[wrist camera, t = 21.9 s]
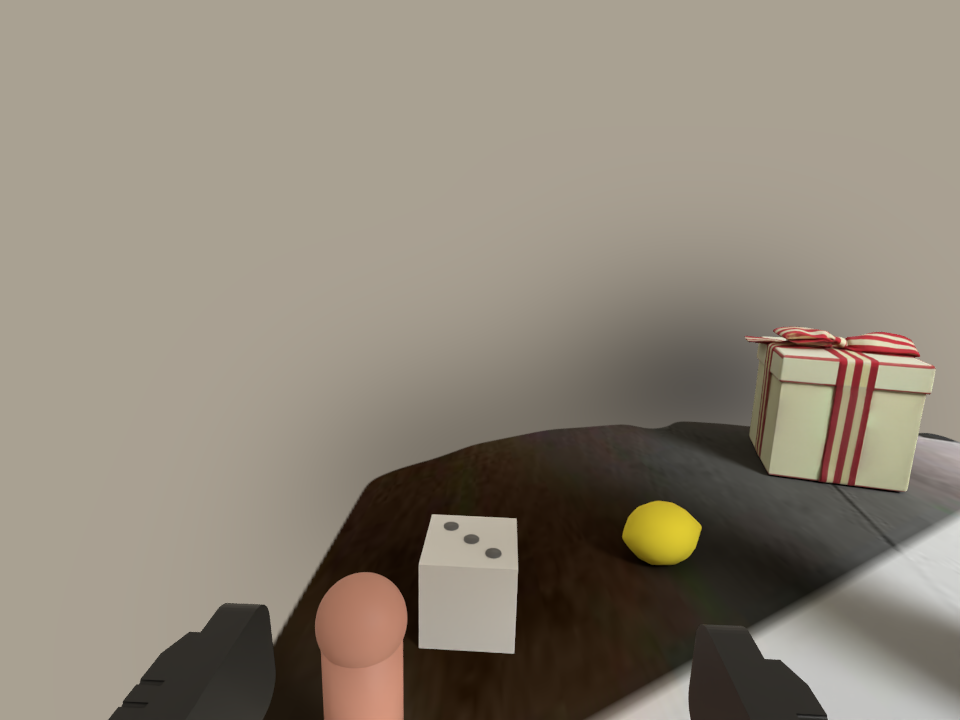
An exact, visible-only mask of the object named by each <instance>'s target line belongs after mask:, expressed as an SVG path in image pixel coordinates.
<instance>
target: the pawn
mask: <svg viewBox="0 0 960 720" xmlns="http://www.w3.org/2000/svg"><path fill="white" fill-rule="evenodd" d="M406 627H407V609H406V604H405V601H404V598H403V596H402V594H401V592H400V591H399V589H398V588H397V587H396V586H395V585H394V584H393V583H392V582H391V581H390V580H389V579H387V578H386V577H384V576H381V575H379V574H376V573H370V572H361V573H355V574H352V575H349V576H346V577H344V578H343V579H341V580H339V581H338V582H337V583H335V584H334V585H333V586H332V587H331V588H330V589H329V590H328V592H327V593H326V594H325V596H324V597H323V599H322V601H321V603H320V605H319V608H318V611H317V615H316V620H315V633H316V639H317V642H318V645H319V648H320V650H321V663H322V684H323V705H324V720H403V638H404V635H405V631H406Z"/></svg>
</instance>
